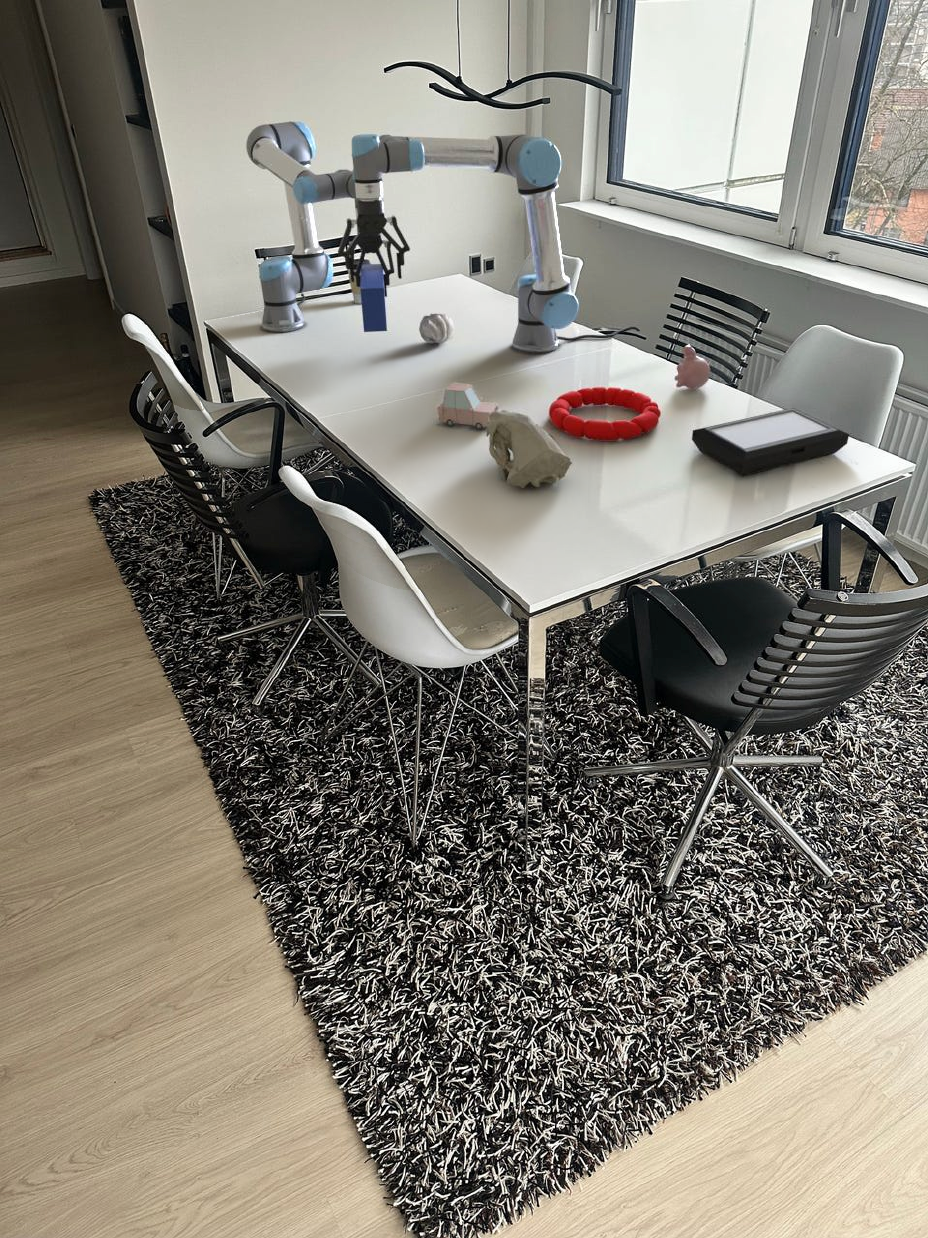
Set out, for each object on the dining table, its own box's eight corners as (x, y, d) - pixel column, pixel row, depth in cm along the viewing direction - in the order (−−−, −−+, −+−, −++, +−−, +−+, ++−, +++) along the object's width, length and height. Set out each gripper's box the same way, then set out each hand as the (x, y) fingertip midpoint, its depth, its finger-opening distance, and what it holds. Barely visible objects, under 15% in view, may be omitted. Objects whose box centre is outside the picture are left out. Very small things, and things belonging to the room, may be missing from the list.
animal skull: (496, 517, 219) (521, 479, 201) (463, 429, 225) (484, 384, 207) (557, 503, 225) (586, 465, 206) (523, 417, 231) (549, 373, 212)
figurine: (665, 387, 264) (669, 347, 257) (693, 380, 268) (698, 340, 261) (686, 396, 257) (690, 355, 250) (714, 388, 262) (720, 348, 255)
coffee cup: (373, 304, 347) (369, 264, 338) (348, 305, 347) (344, 264, 339) (375, 297, 355) (372, 258, 347) (351, 298, 355) (347, 258, 347)
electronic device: (744, 456, 208) (693, 426, 223) (740, 480, 212) (690, 450, 227) (850, 430, 218) (794, 404, 233) (844, 454, 222) (789, 427, 237)
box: (364, 304, 299) (360, 264, 291) (385, 303, 299) (382, 263, 292) (364, 332, 275) (360, 288, 267) (387, 330, 275) (383, 287, 268)
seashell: (411, 342, 306) (409, 313, 300) (450, 335, 312) (448, 306, 306) (425, 350, 298) (423, 320, 293) (464, 342, 304) (463, 313, 299)
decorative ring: (589, 435, 224) (684, 402, 234) (527, 398, 247) (617, 369, 256) (589, 461, 229) (683, 427, 238) (529, 422, 251) (617, 393, 260)
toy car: (488, 432, 240) (488, 396, 234) (436, 426, 244) (434, 390, 239) (499, 419, 247) (499, 384, 241) (448, 413, 252) (447, 379, 246)
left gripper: (336, 225, 277) (343, 300, 291) (400, 222, 279) (404, 297, 292) (336, 220, 284) (343, 294, 297) (399, 217, 285) (403, 291, 298)
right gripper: (324, 203, 239) (333, 285, 251) (416, 198, 242) (421, 279, 254) (323, 198, 245) (332, 279, 257) (413, 193, 248) (417, 272, 261)
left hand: (374, 295), depth 294 cm, fingers closed on box, 7 cm apart
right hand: (376, 279), depth 256 cm, fingers open, 13 cm apart
